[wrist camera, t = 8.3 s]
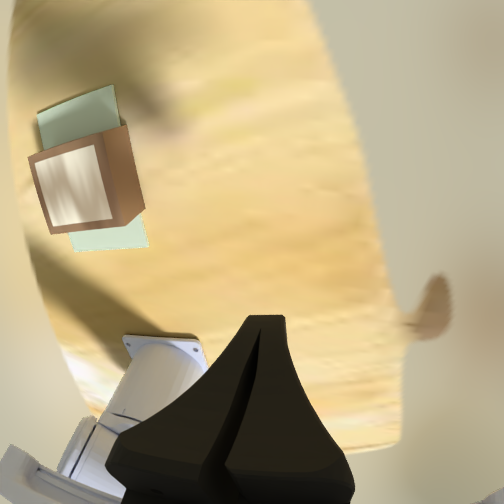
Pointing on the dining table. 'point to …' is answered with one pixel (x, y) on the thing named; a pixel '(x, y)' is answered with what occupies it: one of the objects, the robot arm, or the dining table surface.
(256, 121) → the dining table surface
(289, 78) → the dining table surface
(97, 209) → the walnut frame
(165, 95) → the dining table surface
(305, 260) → the dining table surface
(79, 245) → the sage mat
